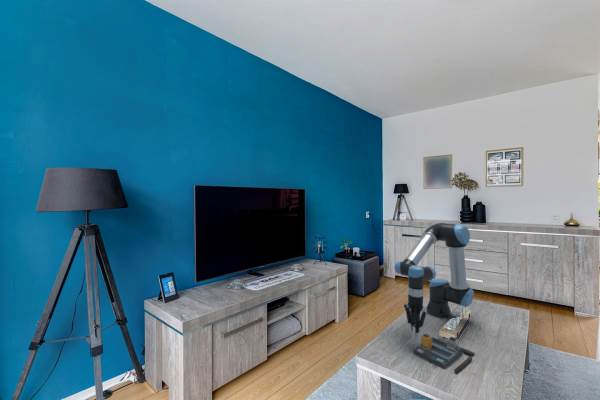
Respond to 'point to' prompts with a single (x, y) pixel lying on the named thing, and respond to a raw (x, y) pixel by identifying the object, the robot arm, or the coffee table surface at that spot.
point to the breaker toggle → (426, 341)
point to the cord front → (463, 350)
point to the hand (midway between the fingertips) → (415, 337)
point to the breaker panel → (440, 351)
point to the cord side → (462, 364)
